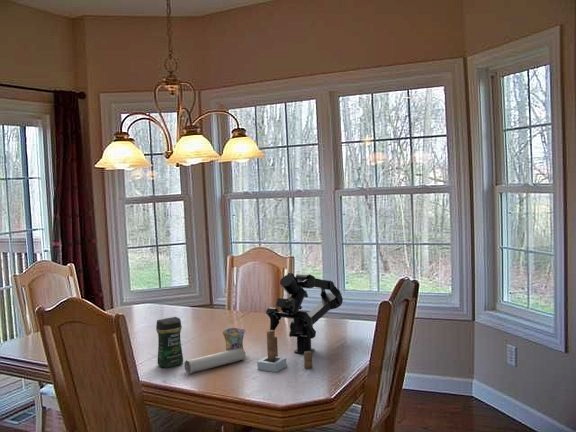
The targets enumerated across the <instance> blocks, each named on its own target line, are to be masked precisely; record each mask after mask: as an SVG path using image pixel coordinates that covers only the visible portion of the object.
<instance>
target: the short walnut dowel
mask: <svg viewBox="0 0 576 432" xmlns="http://www.w3.org/2000/svg"><path fill="white" fill-rule="evenodd" d="M303 359H304V361H303V363H304V369H305V370H312V369H313V351H312V352H311V351H305V352H304V354H303Z"/></svg>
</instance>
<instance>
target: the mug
mask: <svg viewBox="0 0 576 432" xmlns="http://www.w3.org/2000/svg"><path fill="white" fill-rule="evenodd" d="M221 333H222V336H223V337H224V340H225V351H229V350H233V349H237V348H241V349H243V350H244V351H245V349H244V344H243V343H244V342H243V340H244V336H245V334H246V329H245V328H242V327H231V328H225V329H224V330H222V331H221Z"/></svg>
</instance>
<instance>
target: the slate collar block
mask: <svg viewBox="0 0 576 432" xmlns="http://www.w3.org/2000/svg"><path fill="white" fill-rule="evenodd" d="M256 362H257V366H256V367H257V370H259V369H261V370H260V371H266V372H271V373H272V372H273V373H277V372H278V371H280V370H282V369H284V368H285V367H286V366H287V364H288V363H287V357H285V356H278V357H277V356H276V362H268V355H267V356H265V357H262V358H261V359H259V360H257V361H256Z"/></svg>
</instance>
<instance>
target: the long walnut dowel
mask: <svg viewBox="0 0 576 432" xmlns="http://www.w3.org/2000/svg"><path fill="white" fill-rule="evenodd" d="M275 331H276V330H270V329H268V330H266V345H267V348H266V349H267V356H268V362H276V352H275V337H276V334H275Z"/></svg>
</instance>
